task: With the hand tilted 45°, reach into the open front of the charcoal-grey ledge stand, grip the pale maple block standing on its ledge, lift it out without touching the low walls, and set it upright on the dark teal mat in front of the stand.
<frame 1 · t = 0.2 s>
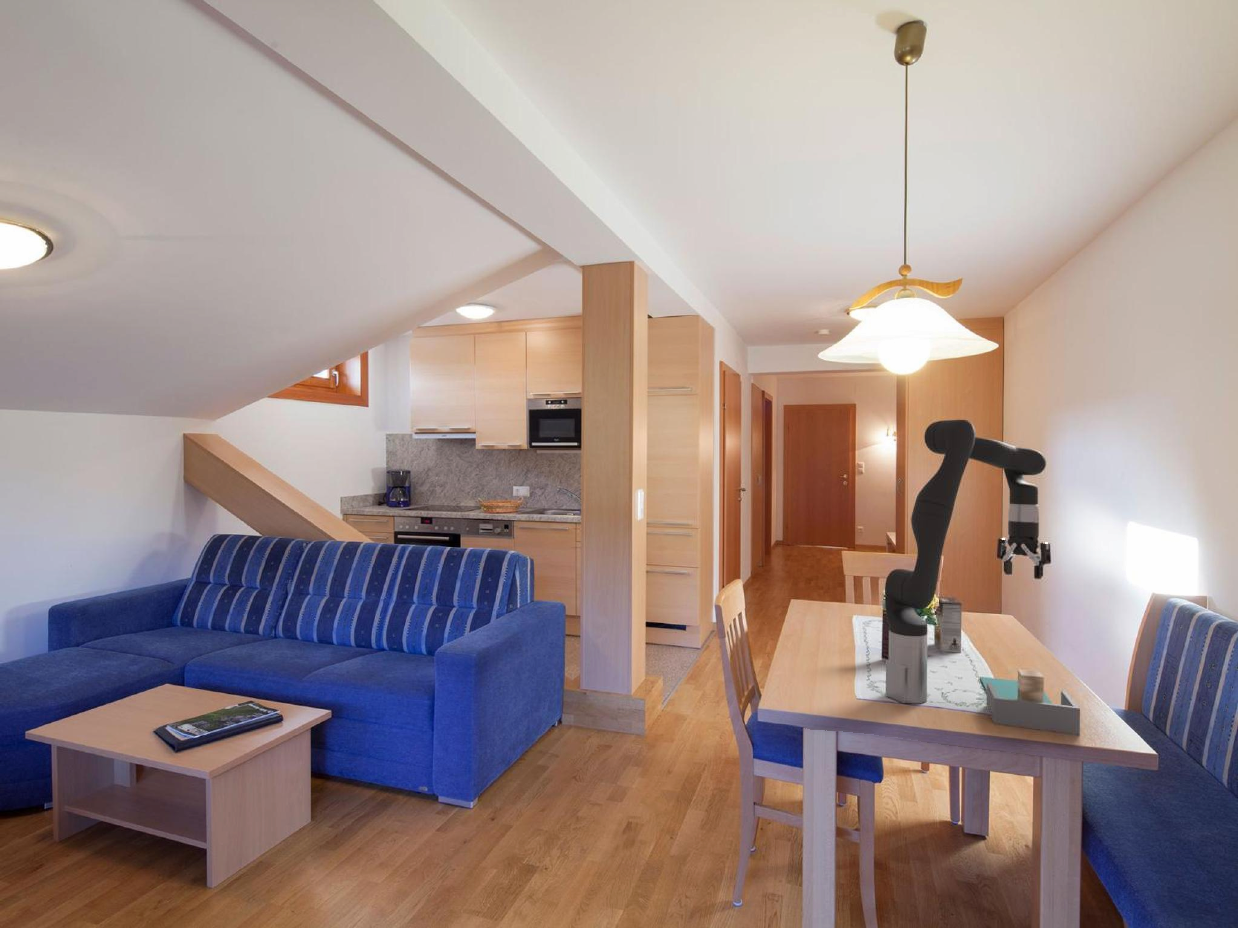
hand: (1022, 576, 189), 29 cm above the table, tool pointing down, fingers open, 8 cm apart
teal mat: (1014, 692, 176), on the table
ledge stand: (1030, 718, 158), on the table
maple block: (1030, 706, 158), point 3 cm above the table, touching ledge stand
supplement box: (898, 661, 203), on the table
coffee box: (947, 648, 217), on the table
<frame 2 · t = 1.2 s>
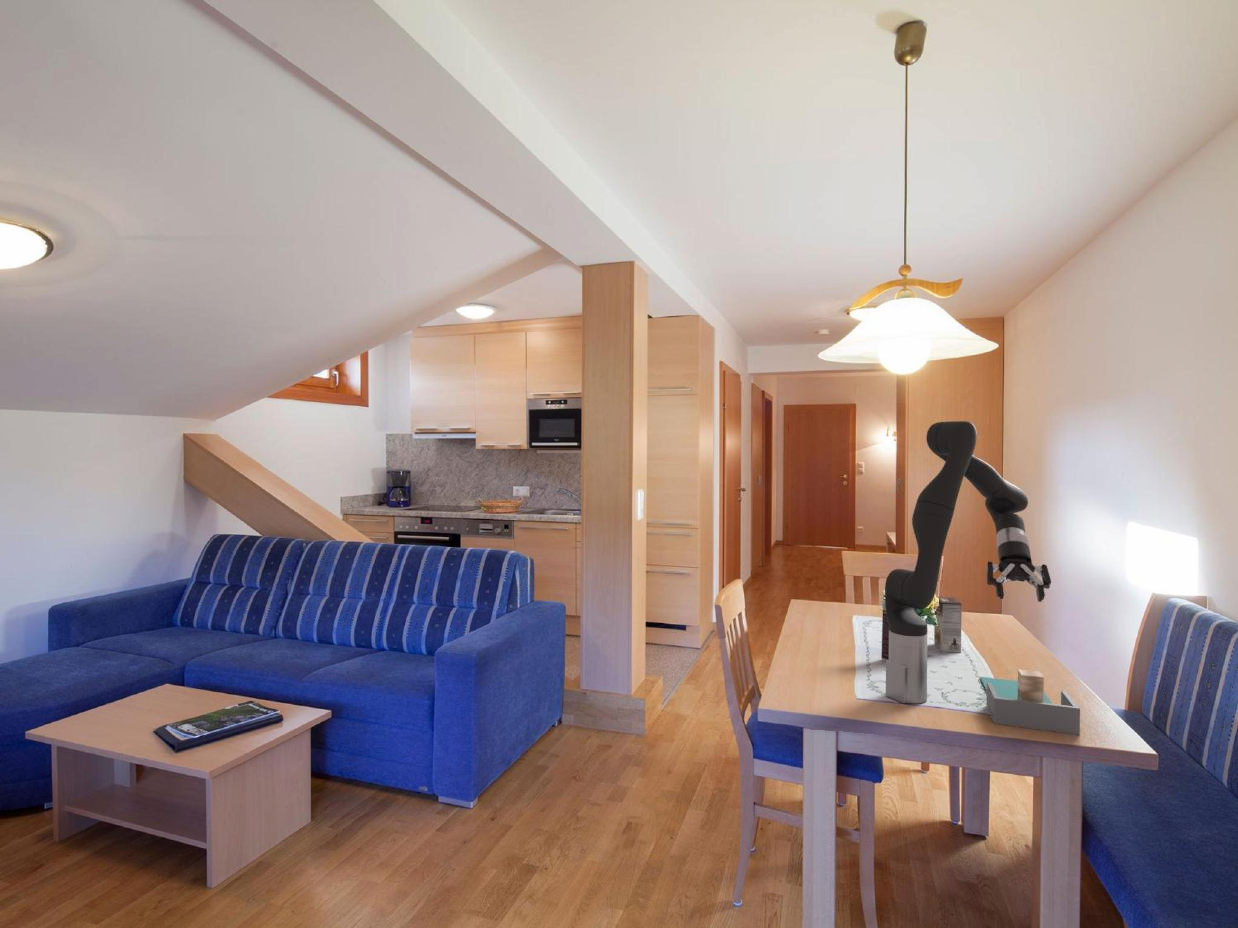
hand: (1021, 598, 169), 27 cm above the table, tool tilted 45°, fingers open, 8 cm apart
nothing on the table moved.
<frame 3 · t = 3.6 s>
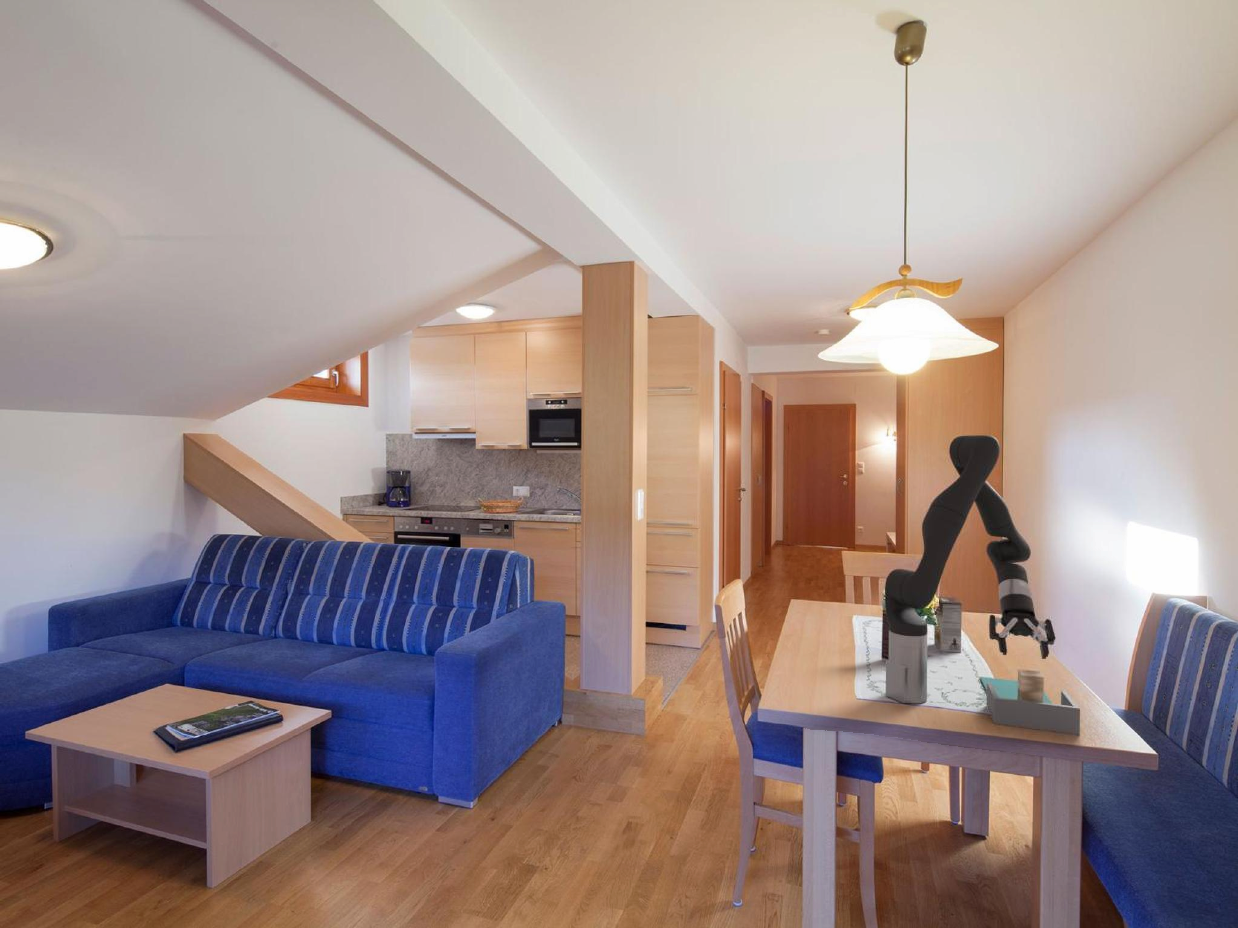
hand: (1024, 655, 164), 13 cm above the table, tool tilted 45°, fingers open, 8 cm apart
nothing on the table moved.
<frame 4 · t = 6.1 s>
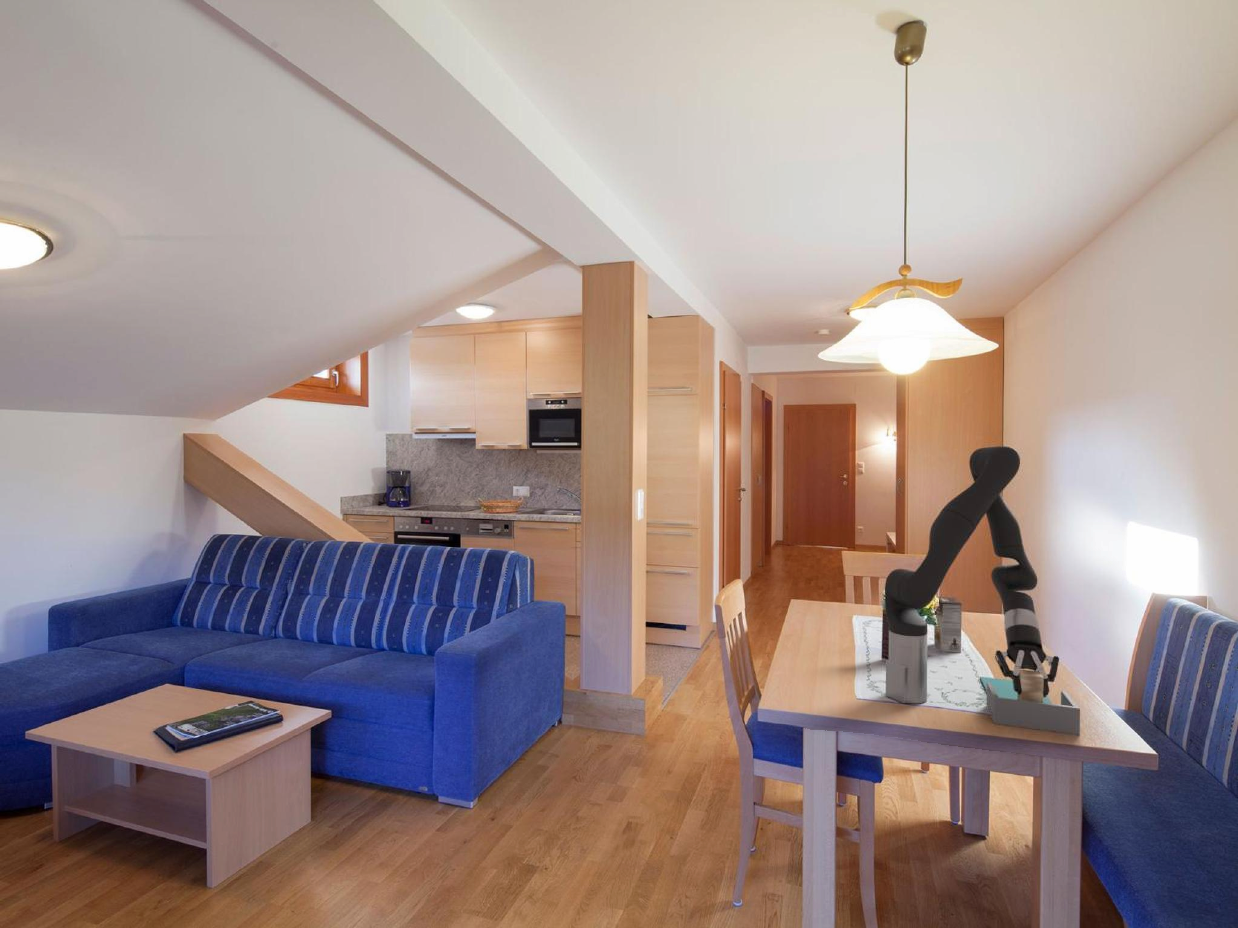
hand: (1032, 693, 156), 7 cm above the table, tool tilted 45°, fingers closed on maple block, 4 cm apart
maple block: (1030, 706, 158), point 3 cm above the table, touching gripper, ledge stand
everything else where it was.
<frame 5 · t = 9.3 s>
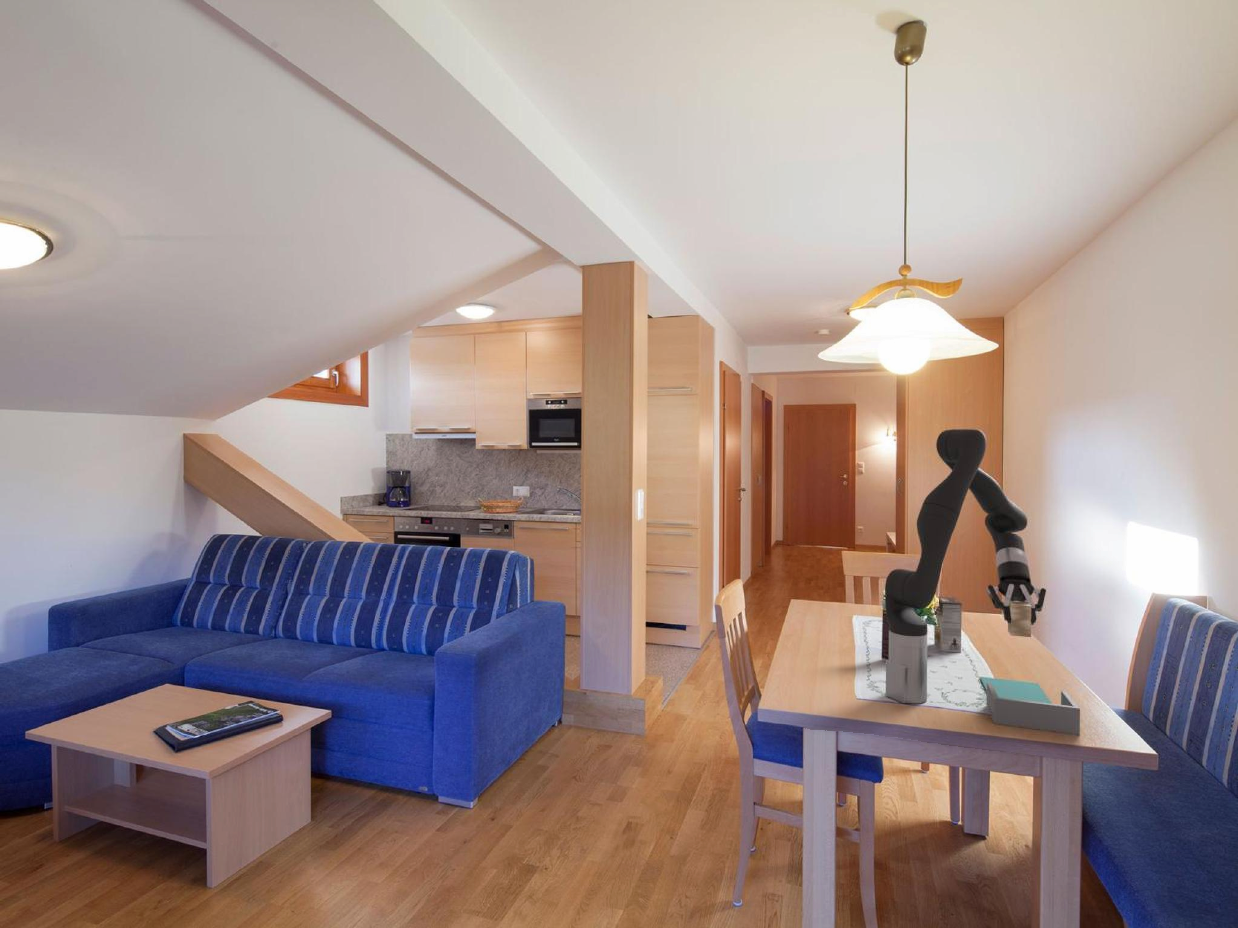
hand: (1020, 622, 170), 20 cm above the table, tool tilted 45°, fingers closed on maple block, 4 cm apart
maple block: (1019, 634, 172), point 17 cm above the table, touching gripper
everything else where it was.
when the fingers open (6 cm above the table, at t = 12.8 s): maple block drops 1 cm, resting on teal mat.
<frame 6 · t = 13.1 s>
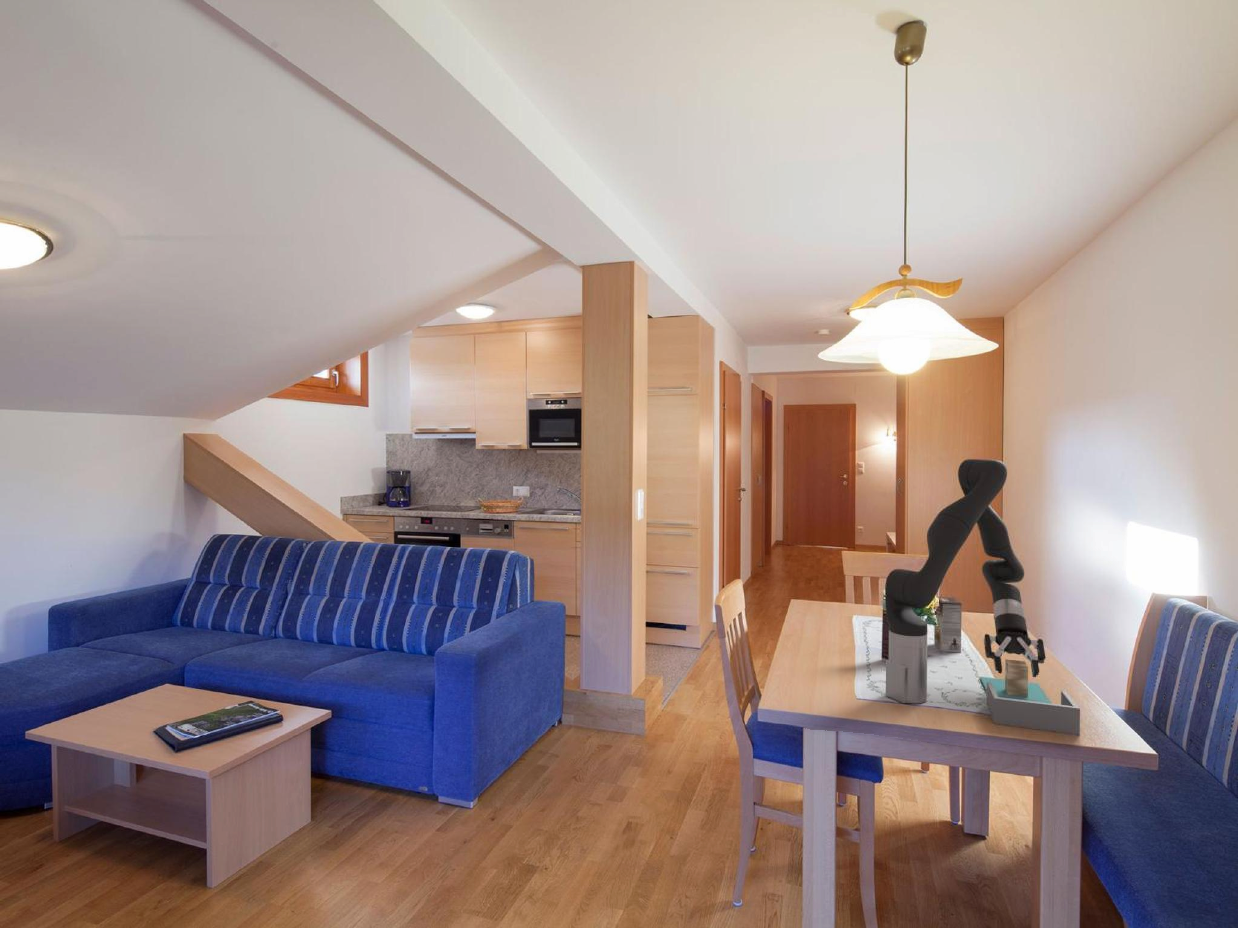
hand: (1017, 673, 172), 6 cm above the table, tool tilted 45°, fingers open, 7 cm apart
maple block: (1016, 692, 174), point 1 cm above the table, touching teal mat
everything else where it was.
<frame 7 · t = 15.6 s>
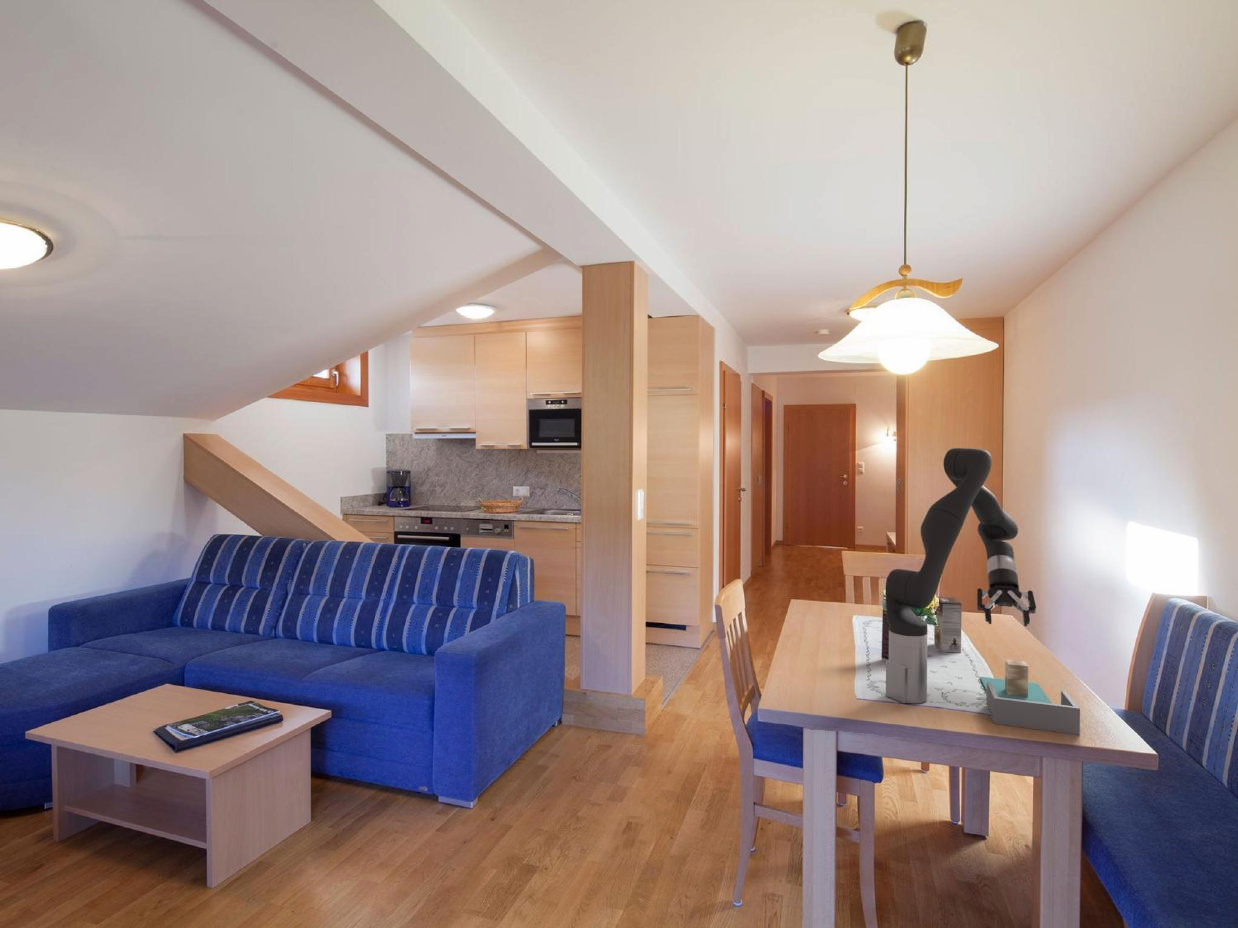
hand: (1007, 623, 182), 17 cm above the table, tool tilted 45°, fingers open, 8 cm apart
nothing on the table moved.
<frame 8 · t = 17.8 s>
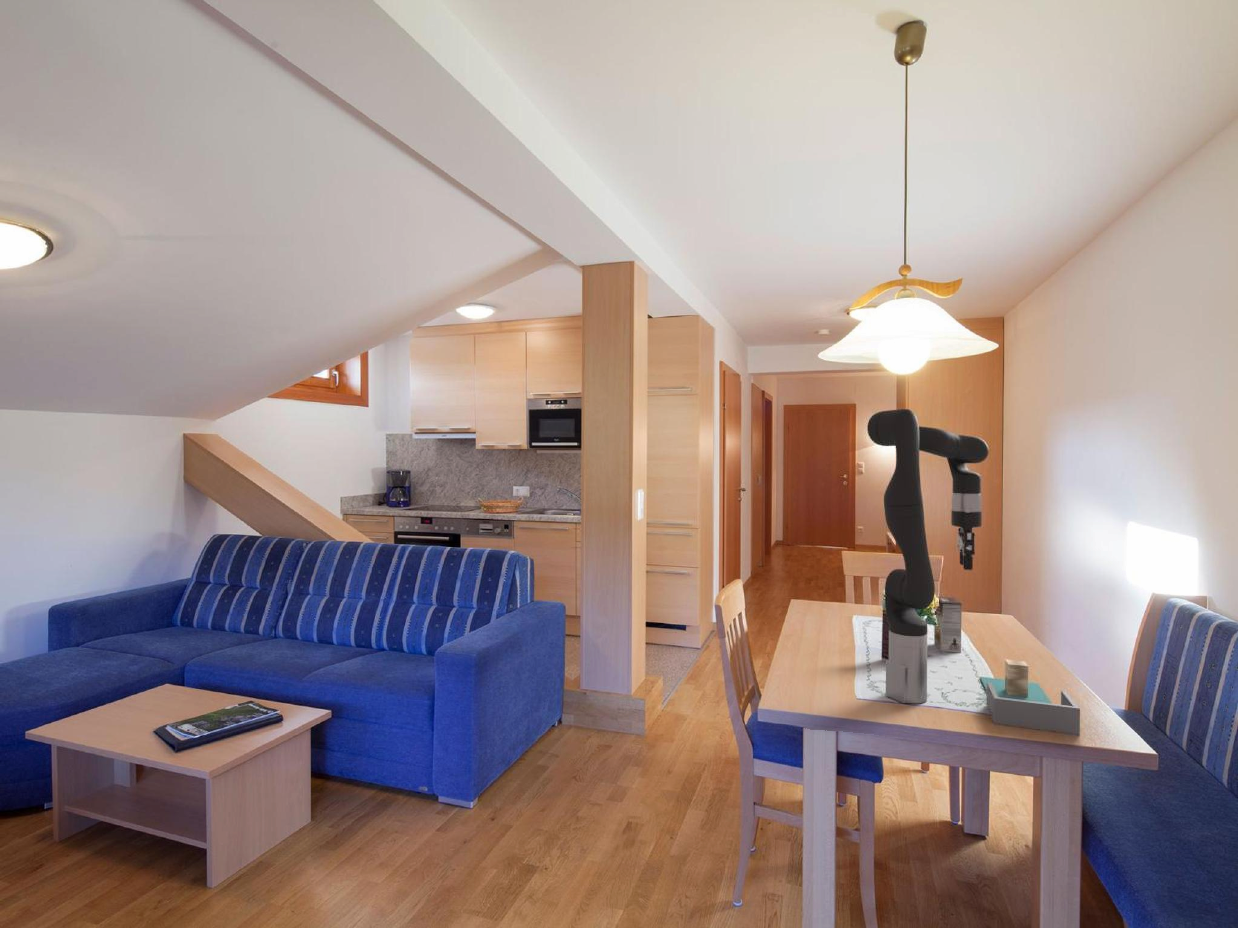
hand: (965, 567, 184), 32 cm above the table, tool pointing down, fingers open, 8 cm apart
nothing on the table moved.
at the end: maple block 2.0 cm from the teal mat (horizontally); maple block point 0.6 cm above the table; maple block tilted 0° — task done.
